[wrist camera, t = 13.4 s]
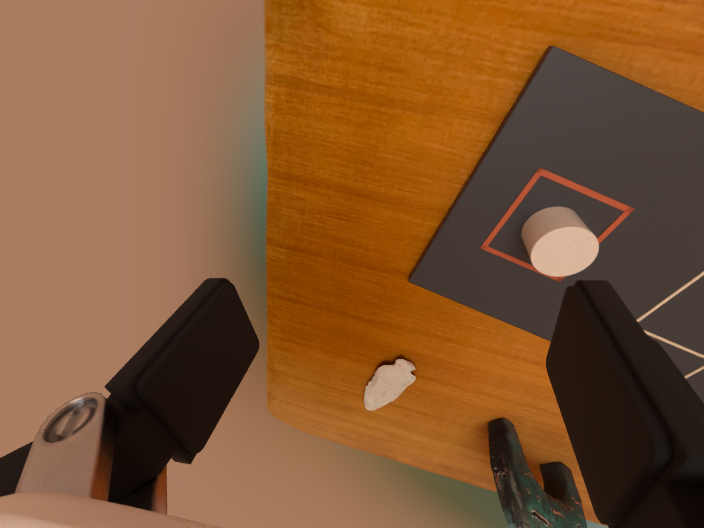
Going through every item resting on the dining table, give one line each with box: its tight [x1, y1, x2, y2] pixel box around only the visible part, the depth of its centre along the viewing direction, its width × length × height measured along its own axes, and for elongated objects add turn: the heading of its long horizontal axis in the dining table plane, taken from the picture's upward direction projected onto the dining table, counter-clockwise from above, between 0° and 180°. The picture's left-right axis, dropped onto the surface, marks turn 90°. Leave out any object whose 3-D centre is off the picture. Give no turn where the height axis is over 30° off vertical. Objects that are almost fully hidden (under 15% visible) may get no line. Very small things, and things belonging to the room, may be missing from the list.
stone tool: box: [364, 359, 416, 411], centre depth 49 cm, size 6×2×15 cm
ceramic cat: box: [488, 418, 587, 528], centre depth 44 cm, size 20×6×20 cm, turn 48°
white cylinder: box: [521, 207, 599, 277], centre depth 28 cm, size 5×5×4 cm
